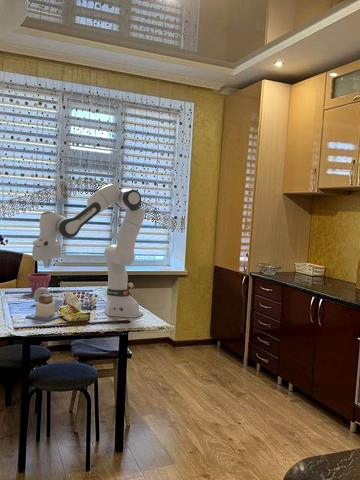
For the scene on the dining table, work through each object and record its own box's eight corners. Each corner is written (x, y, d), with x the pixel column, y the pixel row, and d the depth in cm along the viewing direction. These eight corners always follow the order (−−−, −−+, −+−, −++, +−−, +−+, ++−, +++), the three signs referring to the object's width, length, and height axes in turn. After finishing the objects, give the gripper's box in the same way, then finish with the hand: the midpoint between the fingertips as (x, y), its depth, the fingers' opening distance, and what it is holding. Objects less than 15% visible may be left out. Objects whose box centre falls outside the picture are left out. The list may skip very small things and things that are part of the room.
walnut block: (52, 303, 241) (52, 294, 240) (46, 305, 236) (46, 296, 236) (44, 302, 243) (45, 293, 242) (38, 304, 238) (39, 295, 237)
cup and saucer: (63, 316, 244) (64, 301, 243) (47, 321, 231) (48, 306, 230) (42, 312, 249) (43, 298, 248) (25, 318, 236) (26, 303, 235)
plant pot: (24, 294, 292) (24, 275, 291) (33, 290, 306) (34, 272, 305) (44, 296, 290) (45, 277, 289) (53, 292, 304) (54, 273, 303)
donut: (48, 302, 274) (49, 286, 273) (50, 303, 271) (51, 287, 270) (32, 303, 268) (32, 287, 267) (34, 305, 265) (34, 288, 264)
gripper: (54, 240, 248) (54, 264, 249) (30, 242, 229) (29, 268, 230) (64, 240, 246) (63, 265, 247) (40, 243, 227) (39, 270, 228)
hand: (47, 267), depth 238 cm, fingers closed
